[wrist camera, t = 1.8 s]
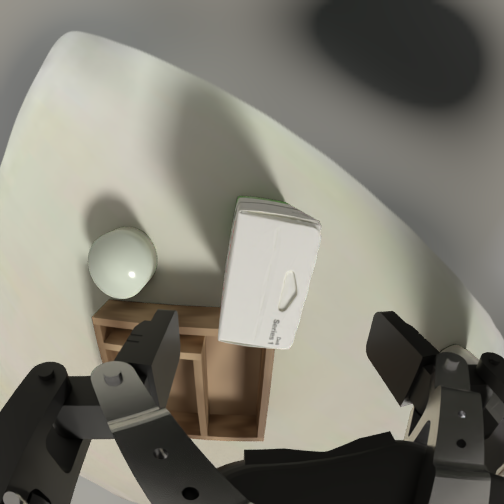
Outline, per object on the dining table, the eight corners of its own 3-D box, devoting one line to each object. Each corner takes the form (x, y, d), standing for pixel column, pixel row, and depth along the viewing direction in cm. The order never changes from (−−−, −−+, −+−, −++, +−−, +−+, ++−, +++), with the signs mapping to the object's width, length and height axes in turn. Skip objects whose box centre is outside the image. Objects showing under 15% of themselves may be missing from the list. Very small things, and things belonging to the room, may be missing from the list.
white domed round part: (156, 226, 26) (145, 233, 23) (159, 287, 28) (149, 301, 24) (101, 226, 26) (85, 232, 22) (106, 283, 27) (92, 295, 24)
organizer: (271, 308, 29) (276, 330, 24) (261, 416, 33) (263, 441, 28) (109, 299, 28) (91, 317, 23) (133, 406, 32) (124, 428, 28)
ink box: (237, 193, 26) (234, 202, 14) (289, 202, 26) (326, 219, 15) (223, 280, 28) (213, 345, 16) (272, 287, 28) (292, 354, 17)
